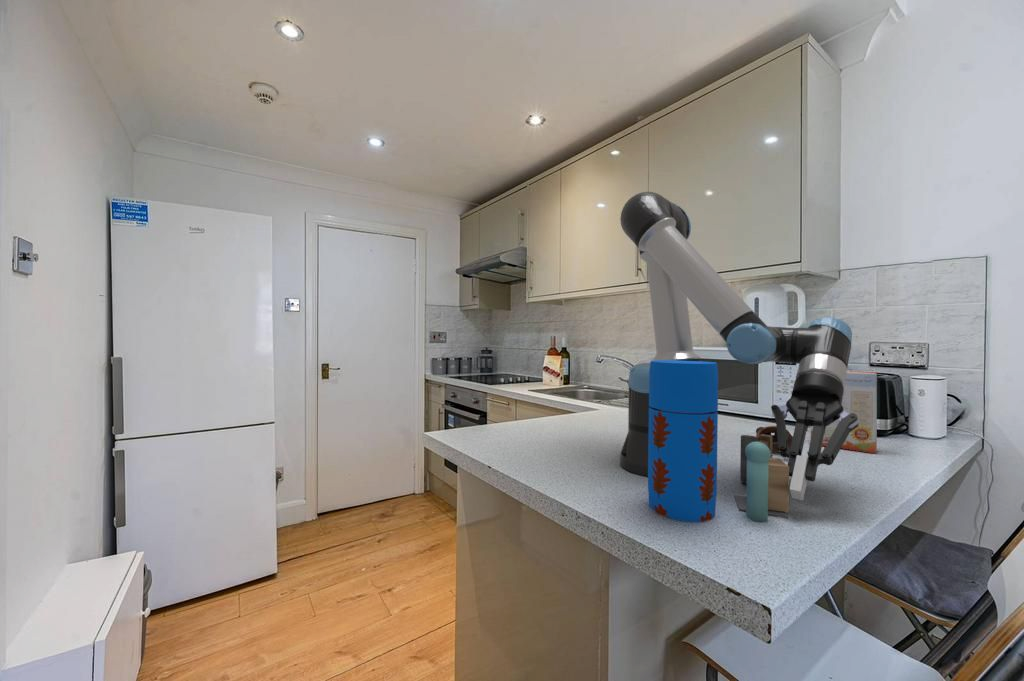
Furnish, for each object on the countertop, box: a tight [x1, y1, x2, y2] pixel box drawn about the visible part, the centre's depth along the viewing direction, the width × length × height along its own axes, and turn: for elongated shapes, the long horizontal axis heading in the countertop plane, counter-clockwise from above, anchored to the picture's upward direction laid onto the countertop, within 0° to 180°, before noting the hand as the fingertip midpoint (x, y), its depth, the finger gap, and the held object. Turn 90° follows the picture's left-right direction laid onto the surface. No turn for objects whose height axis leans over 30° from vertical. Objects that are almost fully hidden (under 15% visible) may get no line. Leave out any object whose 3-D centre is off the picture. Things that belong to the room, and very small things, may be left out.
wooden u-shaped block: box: [739, 434, 790, 513], centre depth 76 cm, size 16×5×9 cm, turn 163°
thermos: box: [647, 360, 719, 523], centre depth 70 cm, size 11×11×25 cm
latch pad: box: [733, 494, 789, 519], centre depth 71 cm, size 7×7×1 cm
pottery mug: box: [755, 425, 793, 454], centre depth 105 cm, size 12×10×8 cm
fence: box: [758, 434, 773, 458], centre depth 88 cm, size 2×10×8 cm, turn 134°
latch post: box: [745, 442, 771, 523], centre depth 67 cm, size 4×4×12 cm
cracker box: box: [810, 370, 878, 454], centre depth 113 cm, size 14×6×21 cm, turn 49°
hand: (796, 494), depth 66 cm, fingers closed
